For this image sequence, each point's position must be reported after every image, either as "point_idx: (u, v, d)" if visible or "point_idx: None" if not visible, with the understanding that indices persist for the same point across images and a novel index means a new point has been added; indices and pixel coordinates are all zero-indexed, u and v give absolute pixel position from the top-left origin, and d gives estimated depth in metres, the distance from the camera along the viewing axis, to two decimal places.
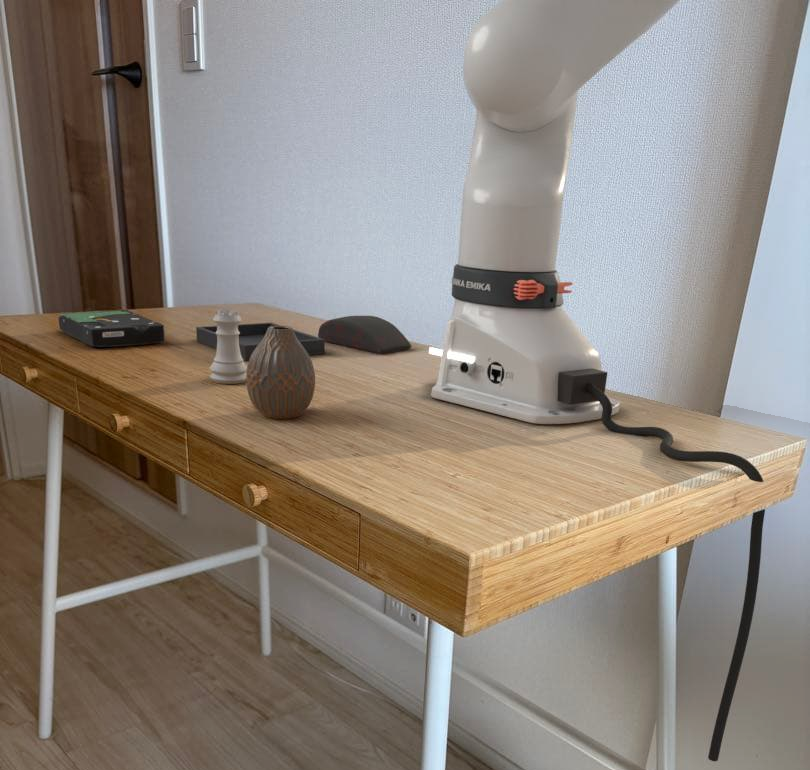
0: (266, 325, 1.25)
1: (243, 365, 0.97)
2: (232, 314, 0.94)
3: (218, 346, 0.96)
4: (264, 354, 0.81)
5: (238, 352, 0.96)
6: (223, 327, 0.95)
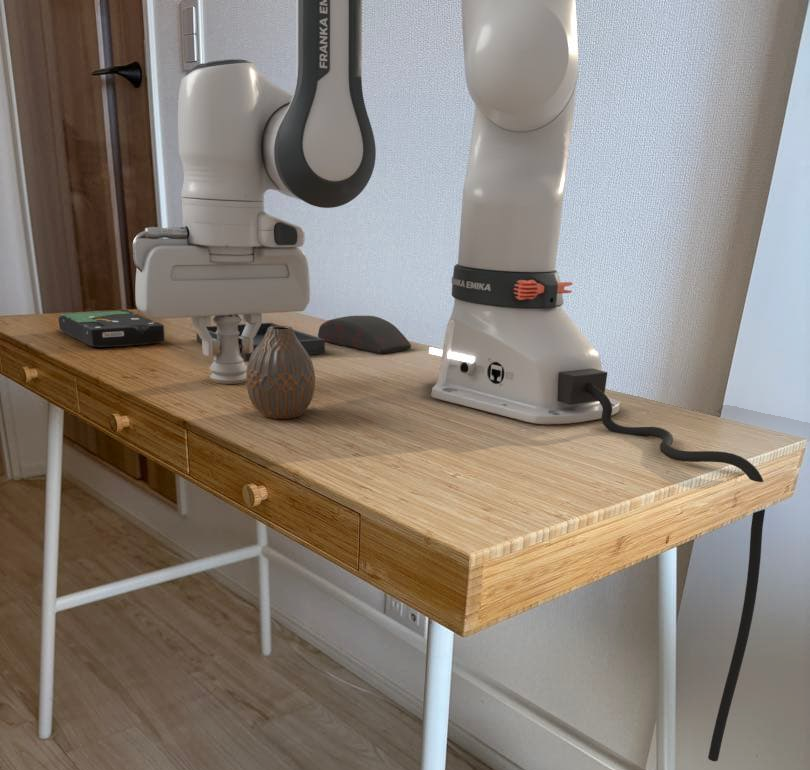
0: (266, 325, 1.25)
1: (243, 365, 0.97)
2: None
3: None
4: (264, 354, 0.81)
5: (238, 352, 0.96)
6: (223, 327, 0.95)
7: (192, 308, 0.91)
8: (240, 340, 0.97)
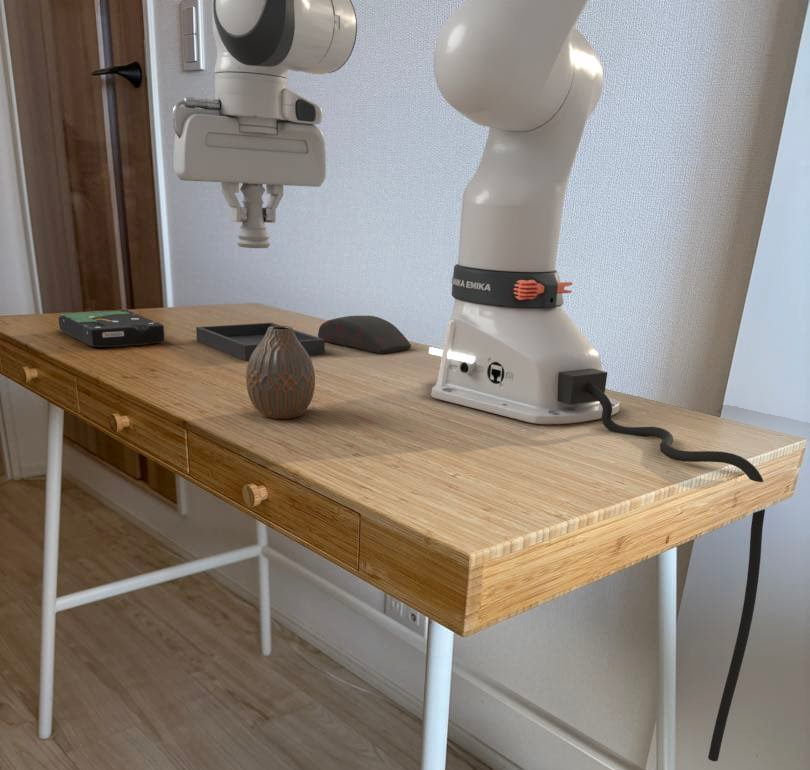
0: (266, 325, 1.25)
1: (266, 232, 1.09)
2: None
3: None
4: (264, 354, 0.81)
5: (262, 220, 1.08)
6: (249, 195, 1.07)
7: (223, 174, 1.03)
8: (264, 209, 1.09)
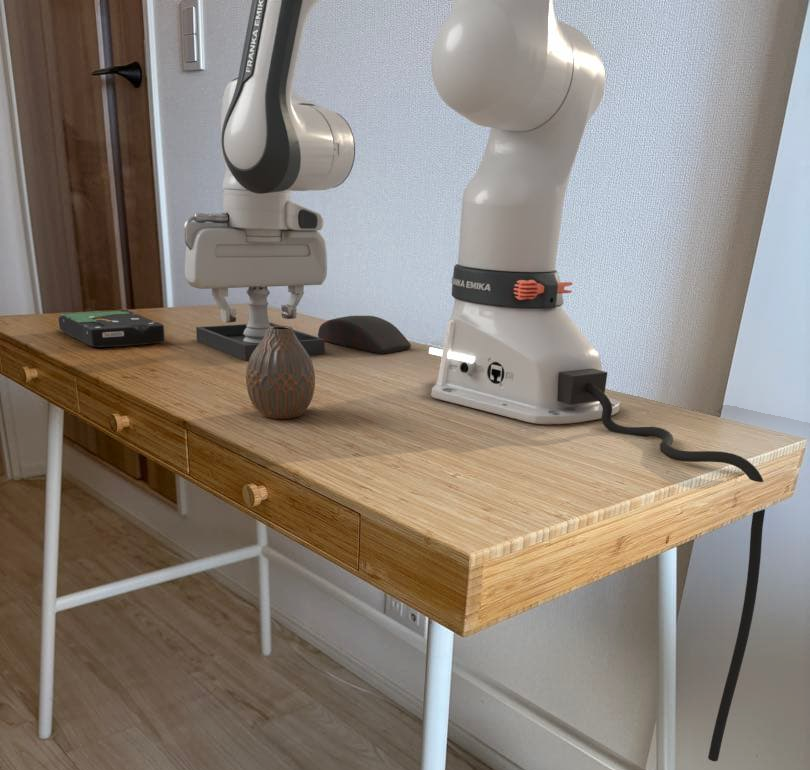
0: None
1: None
2: (262, 287, 1.14)
3: (250, 314, 1.15)
4: (264, 354, 0.81)
5: (267, 319, 1.16)
6: (255, 298, 1.14)
7: (231, 280, 1.10)
8: (286, 307, 1.18)
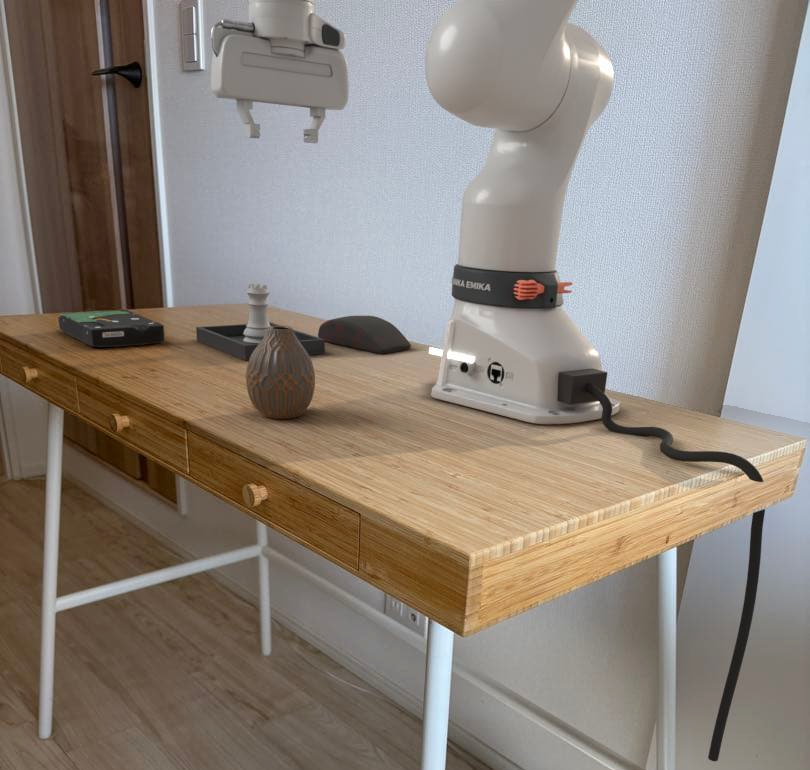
0: None
1: None
2: (262, 287, 1.14)
3: (250, 314, 1.15)
4: (264, 354, 0.81)
5: (267, 319, 1.16)
6: (255, 298, 1.14)
7: (256, 92, 1.12)
8: (308, 130, 1.20)
